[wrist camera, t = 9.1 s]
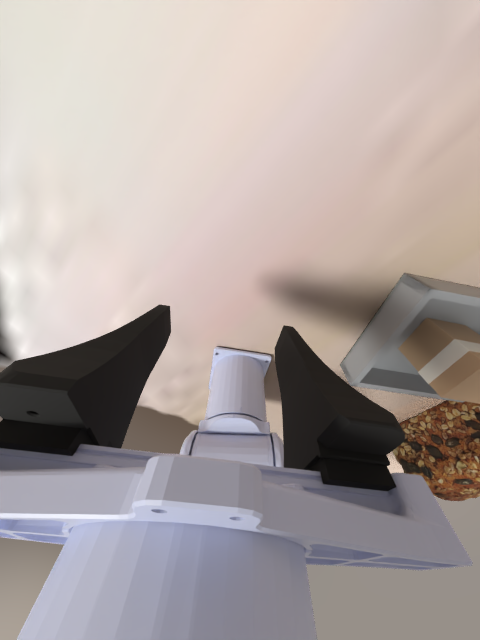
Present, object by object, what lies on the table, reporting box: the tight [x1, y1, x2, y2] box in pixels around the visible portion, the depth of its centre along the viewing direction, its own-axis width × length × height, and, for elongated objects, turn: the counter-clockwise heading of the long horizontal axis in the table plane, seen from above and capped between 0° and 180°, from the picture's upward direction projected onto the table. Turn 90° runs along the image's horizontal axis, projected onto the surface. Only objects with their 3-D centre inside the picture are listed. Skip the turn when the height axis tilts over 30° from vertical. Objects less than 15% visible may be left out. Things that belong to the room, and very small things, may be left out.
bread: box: [393, 400, 480, 501], centre depth 31 cm, size 19×11×10 cm, turn 150°
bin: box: [340, 273, 480, 402], centre depth 23 cm, size 14×16×4 cm
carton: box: [398, 318, 480, 404], centre depth 21 cm, size 5×5×7 cm
